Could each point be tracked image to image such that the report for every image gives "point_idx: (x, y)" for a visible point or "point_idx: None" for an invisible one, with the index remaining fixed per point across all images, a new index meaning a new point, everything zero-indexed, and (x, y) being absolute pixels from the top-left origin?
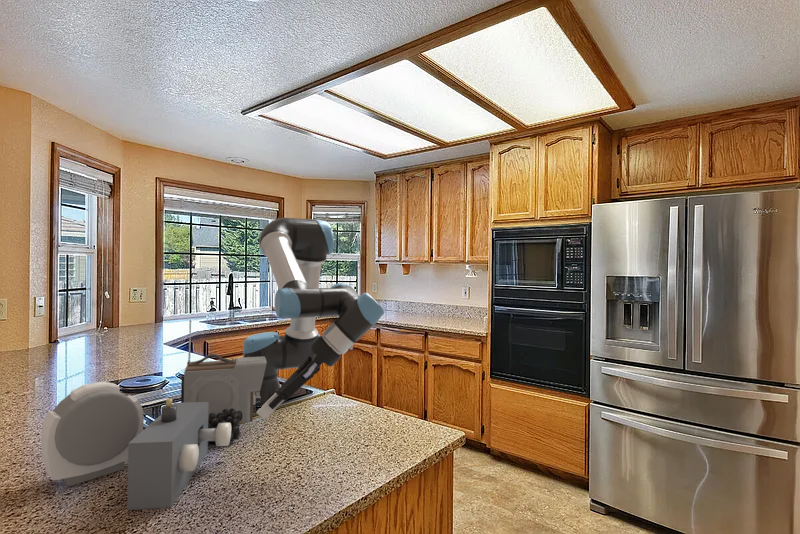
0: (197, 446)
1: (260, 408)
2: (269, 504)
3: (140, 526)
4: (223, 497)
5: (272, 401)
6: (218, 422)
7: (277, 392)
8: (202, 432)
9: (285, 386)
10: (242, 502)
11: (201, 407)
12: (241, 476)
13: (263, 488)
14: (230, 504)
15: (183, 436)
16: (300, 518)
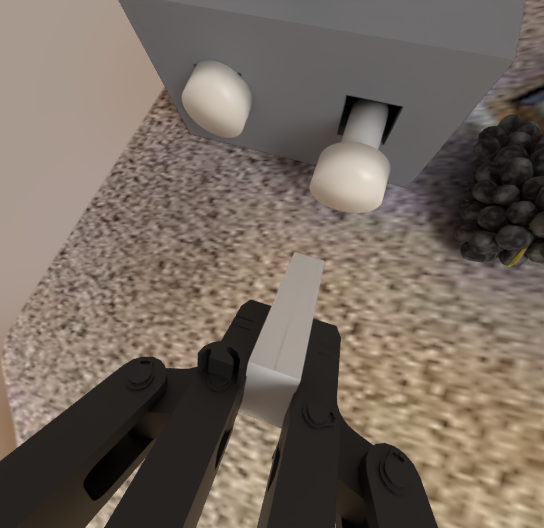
0: (226, 102)
1: (291, 266)
2: (110, 289)
3: (157, 101)
4: (180, 212)
5: (234, 322)
6: (508, 180)
7: (200, 362)
8: (354, 116)
9: (143, 466)
10: (144, 243)
11: (432, 39)
12: (249, 251)
13: (175, 288)
14: (149, 222)
15: (208, 33)
16: (33, 335)
